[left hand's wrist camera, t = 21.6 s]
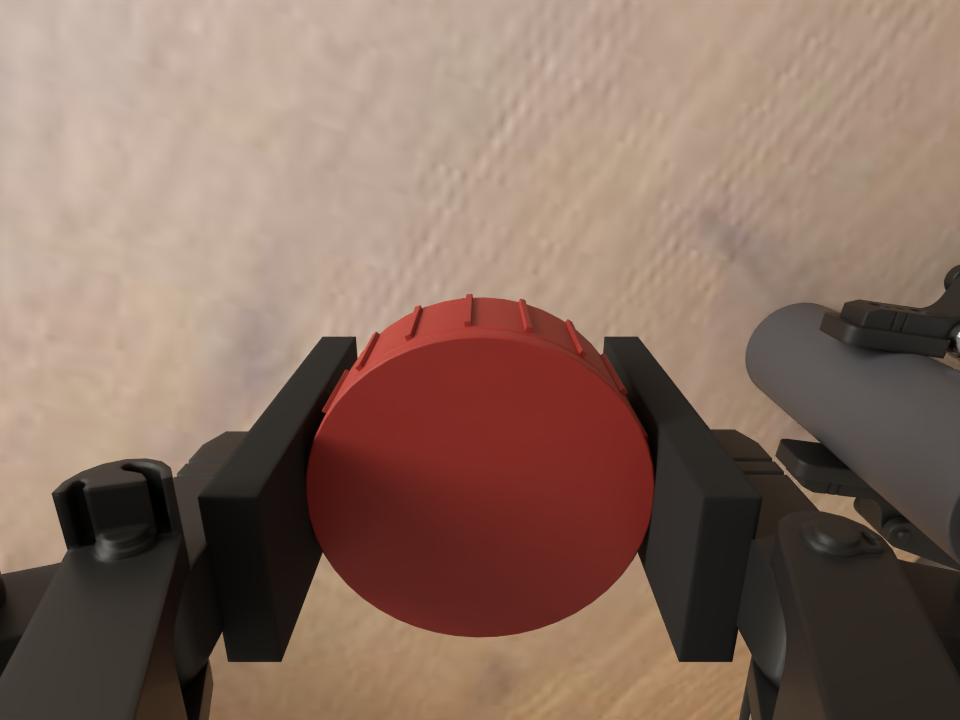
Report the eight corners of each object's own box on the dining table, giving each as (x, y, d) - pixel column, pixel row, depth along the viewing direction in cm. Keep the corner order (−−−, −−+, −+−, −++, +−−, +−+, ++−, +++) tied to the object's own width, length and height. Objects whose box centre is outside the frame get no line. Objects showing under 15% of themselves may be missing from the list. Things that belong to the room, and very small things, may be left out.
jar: (724, 363, 30) (967, 581, 15) (796, 282, 29) (1139, 436, 14) (795, 415, 31) (1087, 667, 16) (868, 340, 30) (1259, 540, 15)
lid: (689, 415, 12) (736, 478, 10) (500, 601, 13) (504, 690, 11) (455, 226, 11) (449, 250, 8) (277, 456, 12) (233, 525, 10)
